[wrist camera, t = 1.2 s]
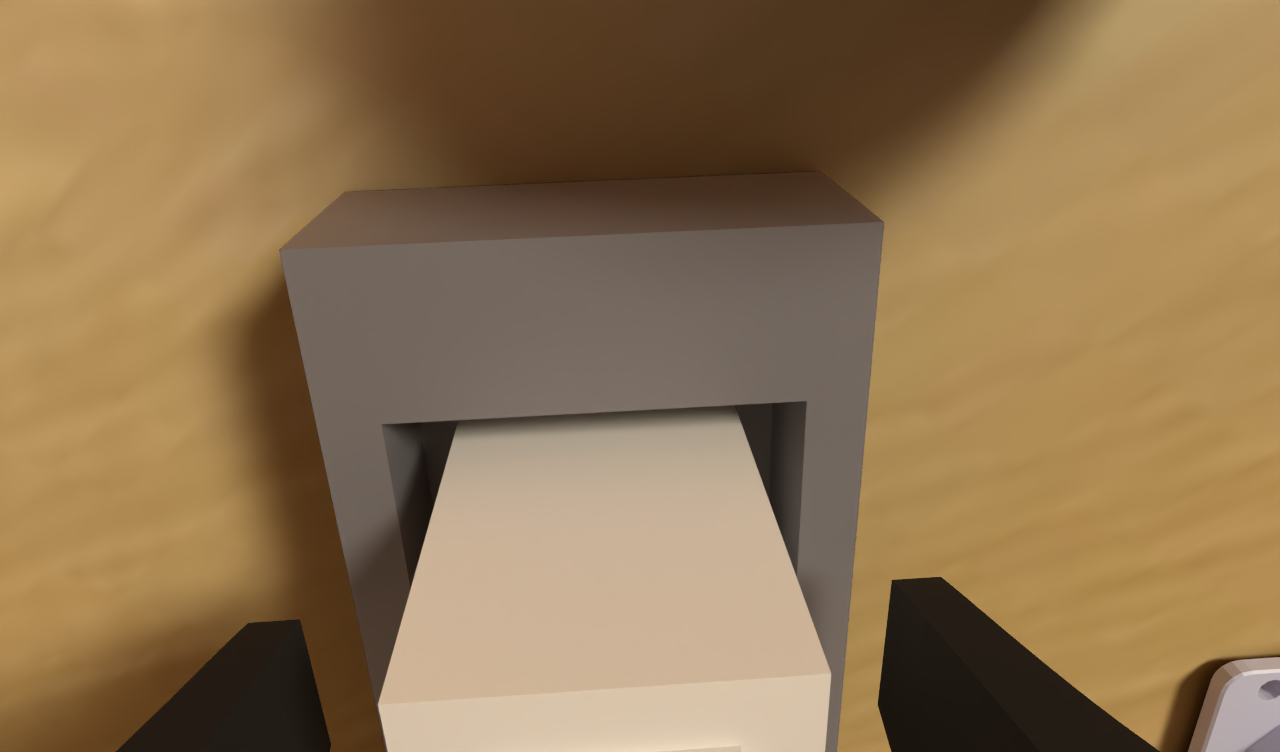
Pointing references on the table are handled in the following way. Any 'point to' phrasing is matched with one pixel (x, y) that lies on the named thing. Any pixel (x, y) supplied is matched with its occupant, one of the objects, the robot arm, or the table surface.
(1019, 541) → the table surface
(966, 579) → the table surface
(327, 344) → the power strip
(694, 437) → the block
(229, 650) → the robot arm
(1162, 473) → the table surface
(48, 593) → the table surface
